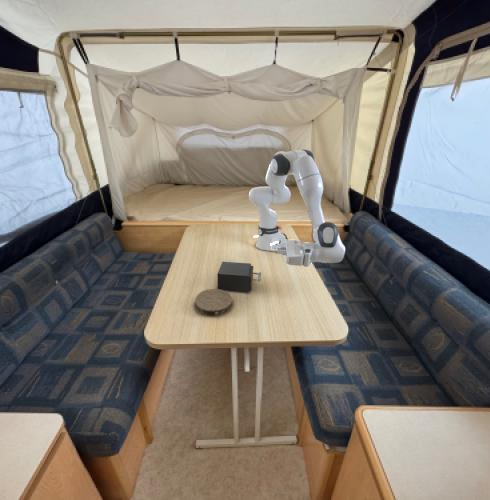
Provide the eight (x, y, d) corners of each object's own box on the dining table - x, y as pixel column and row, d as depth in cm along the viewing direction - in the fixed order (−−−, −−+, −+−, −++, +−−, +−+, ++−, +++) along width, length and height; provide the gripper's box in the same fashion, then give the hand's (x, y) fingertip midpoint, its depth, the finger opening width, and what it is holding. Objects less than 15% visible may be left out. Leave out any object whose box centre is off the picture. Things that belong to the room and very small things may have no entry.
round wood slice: (235, 296, 122) (235, 291, 121) (226, 319, 108) (226, 313, 107) (202, 292, 125) (202, 286, 124) (189, 313, 111) (189, 307, 110)
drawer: (260, 279, 135) (261, 266, 132) (259, 291, 125) (260, 278, 122) (226, 276, 137) (226, 263, 134) (222, 288, 127) (222, 275, 124)
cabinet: (250, 279, 137) (251, 263, 133) (248, 292, 125) (248, 276, 121) (222, 276, 138) (222, 261, 134) (217, 290, 127) (217, 273, 123)
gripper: (305, 237, 128) (276, 235, 130) (309, 255, 109) (275, 253, 111) (304, 248, 130) (275, 247, 132) (308, 268, 112) (275, 266, 114)
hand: (275, 250), depth 122 cm, fingers closed
